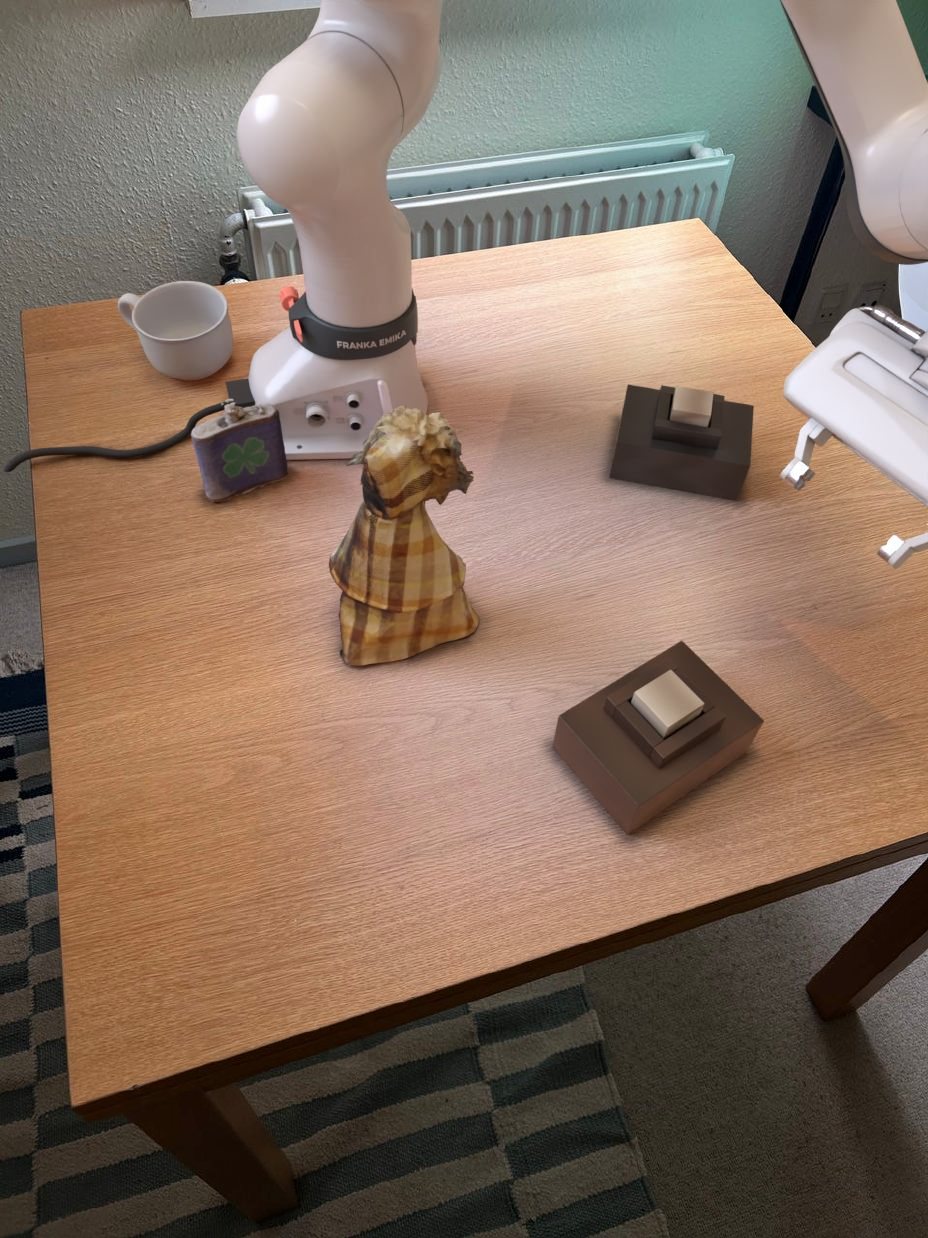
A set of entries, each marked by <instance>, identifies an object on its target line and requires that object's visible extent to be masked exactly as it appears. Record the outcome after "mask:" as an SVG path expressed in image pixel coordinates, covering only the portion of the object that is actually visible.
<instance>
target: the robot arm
mask: <svg viewBox="0 0 928 1238" xmlns="http://www.w3.org/2000/svg"><path fill="white" fill-rule="evenodd" d="M779 2H780V5H781V7H782V10H783V14H784V15H785V18H786V20H787V23H788V25H789V28H790V31H791V32H792V36H793V38H794V40H795V42H796V45H797V47H798V49H799V51H800V54H801V55H802V56H801V57H802V58H803V60H804V63H805V65H806V68H807V70H808V72H809V75H810V76H811V79H812V81H813V84H814V87H815V88H816V90H817V93H818V95H819V98H820V100H821V102H822V104H823V107H824V109H825V111H826V114H827V116H828V118H829V121H830V123H831V125H832V127H833V130H834V132H835V134H836V137H837V140H838V143H839V146H840V150H841V154H842V159H843V166H844V167H843V168H844V178H845V198H846V207H847V214H848V218H849V222H850V225H851V228H852V230H853V233H854V234H855V236H856V237H857V239H858V241H859V242H860V243H861V245H862V246H863V247H864V248H865V249H866V250H867V251H868V252H870V253H871V254H872V255H873V256H876V257H877V258H879V259H881V260H883V261H886V262H888V263H892V264H895V265H902V266H903V265H904V266H912V265H921V264H927V263H928V81H927V79H926V75H925V73H924V69H923V67H922V65H921V62H920V60H919V57H918V55H917V51H916V49H915V46H914V44H913V40H912V37H911V36H910V33H909V31H908V28H907V25H906V23H905V20H904V17H903V15H902V12H901V9H900V7H899V5H898V1H897V0H779ZM443 3H444V0H320V9H319V13H318V17H317V18H316V22H315V24H314V25H313V28H312V30H311V31H310V34H309V35H308V37H307V39H305V40H304V42H303V43H302V44H301V45H299V46H298V47H297V48H295V49H294V50H293V51H291V53H289V54H288V55H286V56H285V57H284V58H283V59H281V60H280V61H279V62H277V63H276V64H275V65H274V66H272V67H271V68H270V69H269V70H268V71H266V73H265V74H263V76H262V78H261V80H259V82H258V84H257V85H256V87H255V88H254V90H253V92H252V93H251V95H250V96H249V98H248V99H247V102H246V103H245V105H244V107H243V108H242V110H241V113H240V115H239V118H238V120H237V127H236V140H237V148H238V152H239V155H240V159H241V161H242V164H243V165H244V168H245V170H246V171H247V173H248V175H249V176H250V177H249V178H251V180H252V181H253V182H254V184H255V185H256V186H257V188H258V189H259V190H260V191H261V192H262V193H263V194H265V196H267V197H268V198H269V199H270V200H272V201H273V202H275V203H276V204H278V205H280V206H281V207H282V208H285V209H286V210H287V212H288V214H289V217H290V219H291V221H292V224H293V227H294V230H295V233H296V236H297V241H298V244H299V254H300V259H301V260H300V261H301V267H302V268H301V269H302V275H303V283H304V292H303V294H302V295H300V296H299V292H298V289H297V288H295V287H294V286H291V285H286V286H284V287H282V288H281V290H280V291H279V300H280V301H281V307H282V308H283V309H284V310H285V311H287V312H288V321H289V325H288V326H287V327H286V328H285V329H283V330H282V331H281V332H279V333H278V334H277V335H276V336H274V337H273V338H271V339H270V340H268V341H267V342H265V343H264V344H263V345H261V346H260V347H259V348H258V349H257V350H256V351H255V352H254V354H253V355H252V358H251V362H250V366H249V372H248V376H247V377H244V378H241V379H234V380H229V381H225V387H226V392H227V396H228V399H233V400H234V401H231V402H228V403H226V402H225V400H223V401H221V402H219V403H216V404H213V405H210V406H207V407H205V408H202V409H200V410H199V411H197V412H195V413H194V414H193V415H192V416H191V417H189V419H188V421H187V423H186V425H185V427H184V428H183V429H182V430H181V431H179V432H178V433H176V434H175V435H173V436H172V437H170V438H168V439H166V440H163V441H161V442H158V443H155V444H152V445H148V446H143V447H137V448H131V449H115V448H107V447H99V446H91V445H85V446H84V445H80V446H79V445H77V446H52V447H40V448H34V449H29V450H26V451H23V452H20V453H18V454H17V455H15V456H14V457H13V458H11V459H10V460H9V461H8V462H7V463H6V464H5V466H4V469H3V472H4V473H11V472H13V471H14V470H15V469H16V468H18V466H19V465H21V464H22V463H24V462H26V461H28V460H31V459H36V458H41V457H50V456H52V457H53V456H72V455H73V456H77V455H94V456H103V457H108V458H114V459H115V458H116V459H132V458H137V457H143V456H148V455H152V454H156V453H159V452H162V451H165V450H167V449H169V448H172V447H174V446H175V445H177V444H178V443H180V442H182V441H183V440H185V439H186V438H188V437H189V436H191V432H192V429H194V428H195V427H196V426H197V424H198V423H199V421H201V420H203V419H204V418H206V417H208V416H210V415H213V414H216V413H219V412H222V411H225V405H227V404H231V403H235V406H239V407H242V408H246V407H251V406H254V405H258V404H259V405H260V404H266V403H268V404H271V405H273V406H275V407H276V409H277V410H278V411H279V415H280V422H281V429H282V434H283V442H284V446H285V454H286V460H287V461H297V460H341V459H344V460H345V459H352V457H353V455H355V454H358V453H360V452H361V451H363V449H364V445H365V444H366V442H367V440H368V435H369V433H370V431H371V430H372V428H373V427H374V425H375V424H376V423H377V422H378V421H379V420H380V419H381V418H382V416H383V415H384V414H386V413H391V412H395V411H394V409H396V408H397V407H399V406H405V407H407V408H409V409H410V410H412V409H415V408H417V409H419V410H421V411H422V412H423V413H424V416H425V415H426V414H427V412H428V407H429V400H428V399H429V398H428V394H427V392H426V390H425V387H424V384H423V380H422V377H421V372H420V368H419V363H418V358H417V352H416V345H417V343H418V341H417V339H418V338H417V337H418V332H419V318H418V317H419V312H418V310H419V309H418V302H417V296H416V295H415V293H414V289H413V272H412V271H413V269H412V268H413V267H412V266H413V265H412V263H413V262H412V230H411V227H410V226H411V225H410V223H409V221H408V219H407V217H406V215H405V213H404V212H403V211H402V210H400V209H399V208H398V207H397V206H396V205H395V204H394V203H393V202H392V200H391V196H390V193H389V187H388V180H387V178H388V177H387V175H388V168H389V163H390V160H391V157H392V153H393V151H394V150H395V149H396V148H397V147H398V146H399V145H400V144H401V143H402V142H403V140H404V139H405V138H406V137H407V136H408V135H409V134H410V133H411V132H412V131H413V130H414V129H415V128H416V127H417V126H418V125H419V123H420V122H421V121H422V120H423V118H424V117H425V114H426V113H427V111H428V109H429V107H430V104H431V103H432V101H433V98H434V96H435V93H436V91H437V88H438V85H439V83H440V80H441V75H442V67H443V65H442V63H443V61H442V53H441V48H440V44H439V41H440V30H441V21H442V20H441V18H442V11H443ZM867 313H870V314H869V315H868V314H867ZM782 393H783V394H782V395H783V397H784V399H785V400H786V401H787V403H789V405H790V406H792V408H794V409H795V410H796V411H798V412H799V413H801V415H802V416H804V417H806V418H807V419H808V420H807V421H806V422H805V423H804V425H803V426H802V427H801V428H800V429H799V433H798V437H797V440H796V441H797V442H796V446H795V450H794V454H793V456H794V457H793V458H792V459H791V461H790V462H788V464H787V465H786V466H785V467H784V469H783V470H782V471H781V472H780V475H779V477H780V478H781V479H782V480H783V481H784V482H786V483H788V484H789V485H790V486H791V487H792V488H794V489H795V490H796V491H801V490H802V489H803V488H805V486H806V483H807V482H809V481H811V480H812V479H813V478H814V476H815V475H816V473H815V472H814V471H813V470H812V469H811V467H809V466H810V463H811V459H812V456H813V453H814V449H815V446H816V445H817V446H818V447H819V448H820V447H823V446H824V445H825V444H826V443H827V442H828V441H829V440H830V439H831V438H832V437H833V439H835V440H837V441H838V442H839V443H841V444H842V445H844V446H845V447H846V448H847V449H848V450H850V451H852V453H854V454H855V455H857V456H858V457H859V458H861V459H862V460H863V461H865V462H866V463H868V464H869V465H870V466H871V467H873V468H874V469H876V470H877V471H878V472H879V473H880V474H882V475H884V476H885V477H887V478H888V479H889V480H891V482H893V483H894V484H896V485H897V486H899V487H900V488H901V489H903V490H904V491H905V492H907V493H908V494H909V495H910V496H912V497H913V498H915V499H916V500H917V501H919V503H922V504H923V505H924V506H925V507H927V508H928V329H927V330H924V329H922V328H920V327H918V326H917V325H915V324H913V323H912V322H910V321H909V320H905V319H903V318H901V317H899V316H898V315H896V314H895V313H894V312H893V311H892V310H891V309H890V308H888V307H886V306H884V305H881V304H877V305H875V306H871V305H870V306H869V305H864V306H859V307H856V308H855V307H854V308H852V309H851V310H850V309H849V311H848V312H846V314H845V315H843V317H842V318H841V319H840V320H839V321H838V322H837V323H836V325H835V326H834V327H833V329H831V332H830V334H829V336H828V337H827V338H826V339H824V340H823V341H822V342H820V343H819V345H817V346H816V347H815V348H814V349H813V350H812V351H811V352H810V353H809V354H808V355H807V356H805V357H804V359H802V360H801V362H800V363H798V364H797V365H796V367H795V368H793V369H792V371H791V372H790V373H789V374H788V375H787V377H786V378H785V379H784V382H783V392H782ZM221 403H224V404H223V405H221ZM926 525H927V527H928V522H927V524H926ZM925 550H928V531H925V532H923V533H921V534H919V535H915V536H913V537H910V538H907V539H905V540H903V539H902V538H900V537H899V536H898V535H896V534H895V533H893V535H892V536H891V537H890V538H888V540H887V542H886V544H885V545H882V546H881V547H880V548H879V549H878V551H877V552H876V554H877V556H879V558H881V559H882V560H884V561H885V562H886V563H887V564H888V565H890V566H891V567H892V568H893V569H895V570H898V569H899V568H901V567H902V566H903V564H905V563H906V562H907V561H908V560H909V559H910V558H911V557H912V556H913V555H914V554H915V553H920V552H922V551H923V552H924V551H925Z"/></svg>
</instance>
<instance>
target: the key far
mask: <svg viewBox="0 0 928 1238" xmlns="http://www.w3.org/2000/svg"><path fill="white" fill-rule="evenodd" d="M713 394H714V391H709V390H704V389H697V388H691V387H685V386H680V385H676V386H675V391H674V395H673V400H672V407H671V414H670V420H669V421H674V422H680V423H685V424H691V425H697V426H703V427H708V424H709V421H710V418H711V412H712V402H713Z"/></svg>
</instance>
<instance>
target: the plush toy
mask: <svg viewBox="0 0 928 1238" xmlns="http://www.w3.org/2000/svg"><path fill="white" fill-rule="evenodd" d="M394 411H395V412H391V413H386V414H384V415H383V416H382V418H381V419H380V420H379V421H378V422H377V423H376V424H375V425H374V427H373V428H372V430H371V431H370V433H369V435H368V440H367V442H366V444H365V445H364V449H363V451H361V452H360V453H358V454H355V455H353V457H352V458H351V460H349V461H347V462H345V463H344V464H345V466H347V467H348V466H349V467H350V466H354V465H363V466H362V470H361V477H360V483H359V485H360V486H362V489H361V490H362V499H363V501H362V502H361V503H360V504H359V506H358V509H357V511H356V514H355V516H354V519H353V521H352V523H351V525H350V527H349V528H348V530H347V532H345V534H344V536H343V538H342V540H341V541H340V543H339V544H338V545H337V546H336V548H335V549H334V551H333V552H332V553H331V554H330V555H329V559H328V560H329V561H328V569H329V574H330V575H331V578H332V579H333V582H334V583H335V584H336V586H337V587H338V588H339V589H340V590H341V595H340V599H339V610H338V611H339V612H338V619H339V629H340V641H341V647H342V649H341V650H340V651H339V657H341V659H343V662H344V664H345V665H351V666H354V667H355V666H360V667H361V666H366V665H370V664H379V663H388V662H395V661H399V660H405V659H408V658H411V657H414V656H416V655H417V654H420V653H422V652H424V651H427V650H429V649H433V648H434V647H436V646H439V645H440V644H444V643H447V642H453V641H456V640H460V639H462V638H463V639H464V638H465V637H468V636H470V635H471V634H474V633H476V631H477V628H478V627H479V624H480V621H481V617H480V616H479V614H478V612H476V611H475V609H474V608H473V607H472V606H471V603H470V601H469V598H468V595H467V593H466V591H465V588H464V586H465V580H466V574H467V564H466V563H465V562H464V561H463V558H462V557H461V556H460V555H459V554H457V553H456V552H455V551H454V550H452V548H450V546H448V544H447V543H446V542H445V540H443V538H442V537H441V535H440V533H439V532H438V530H437V528H436V527H435V525H434V523H433V521H432V519H431V517H430V515H429V514H428V511H427V508H426V502H428V501H430V500H435V501H436V502H437V504H438V505H439V506H441V505H443V504H444V502H445V501H446V499H447V498H448V496H449V494H450V492H453V491H460V492H462V493H463V494H465V495H467V493H468V489H469V487H470V485H471V484H472V483H473V482H474V478H475V476H474V472H473V470H468V469H467V466H466V465H465V463H463V461H462V460H461V456H462V455H463V453H462V443H461V442H460V440H459V438H458V434H457V430H456V429H454V428H453V427H452V426H451V425H449V421H448V420H447V419H446V418H444V416H443V413H442V411H438V412H432V413H430V414H427V413H426V415H425V416H424V413H423V412H422V411H421V410H419V409H417V408H415V409H412V410H410V409H409V408H407V407H405V406H399V407H397V408H396V409H394Z"/></svg>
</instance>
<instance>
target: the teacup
mask: <svg viewBox="0 0 928 1238" xmlns="http://www.w3.org/2000/svg"><path fill="white" fill-rule="evenodd" d="M130 307H132V308H133V309H131V308H130ZM117 311H118V313H119V315H120V317H121V318H122V320H124V322H125V323H126V324H127V325H128V326H129V327H131V328H132V329H133V330H135V331H136V333H137V335H138V338H139V342H140V344H141V347H142V350H143V351H144V354H145V356H146V358H147V360H148V361H149V363H150V364H151V366H152V367H153V368H154V369H155V370H156V371H158V372H159V373H161V374H162V375H164V376H166V377H169V378H172V379H176V380H182V381H199V380H203V379H205V378H209V377H211V376H212V375H214V374H215V373H217V372H218V371H219V370H221V369H222V368H223V367H224V366H225V365H226V364H227V363H228V362H229V360H230V358H231V356H232V354H233V350H234V334H233V327H232V322H231V317H230V313H229V304H228V300H227V298H226V296H225V295H224V294H223V292H222V291H220V290H219V289H218V288H216V287H215V286H213V285H210V284H209V283H206V282H202V281H194V280H177V281H171V282H167V283H164V284H161V285H158V286H155V287H154V288H152V289H150V290H149V291H147V292H146V293H144V294H143V295H142V296H141V297H140V296H139V295H137V294H135V293H132V292H131V293H130V292H127V293H124V294H122V295H121V297H119V299H118V301H117Z"/></svg>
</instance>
